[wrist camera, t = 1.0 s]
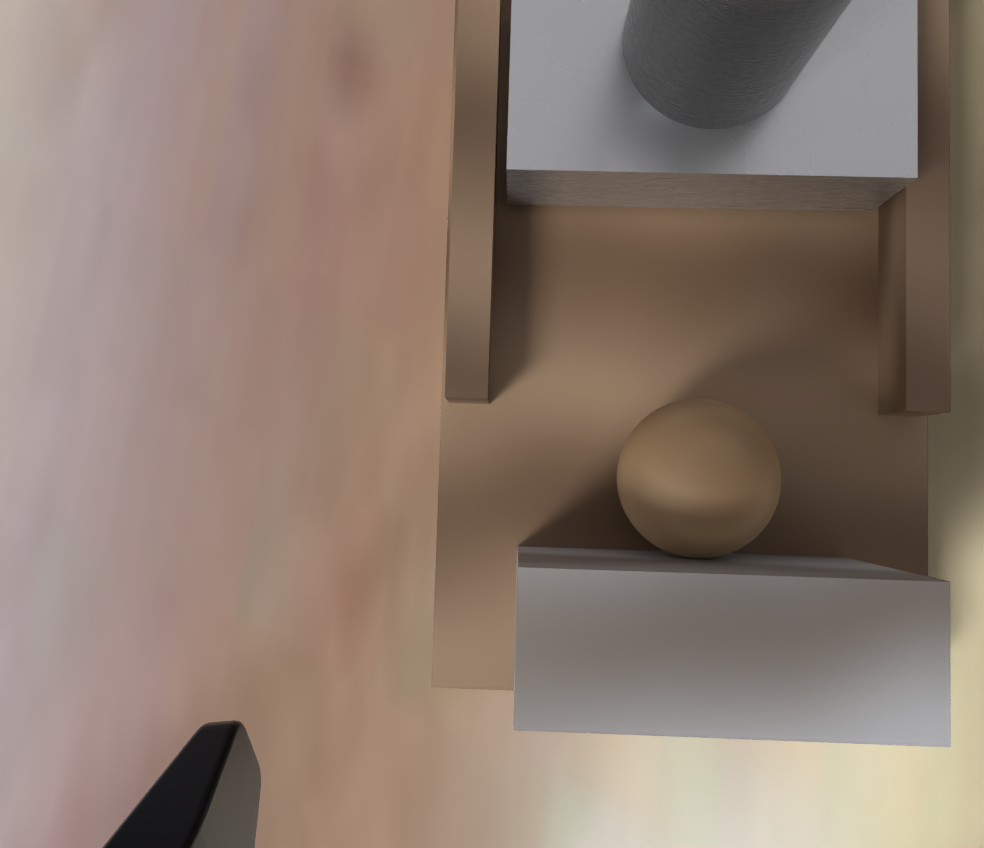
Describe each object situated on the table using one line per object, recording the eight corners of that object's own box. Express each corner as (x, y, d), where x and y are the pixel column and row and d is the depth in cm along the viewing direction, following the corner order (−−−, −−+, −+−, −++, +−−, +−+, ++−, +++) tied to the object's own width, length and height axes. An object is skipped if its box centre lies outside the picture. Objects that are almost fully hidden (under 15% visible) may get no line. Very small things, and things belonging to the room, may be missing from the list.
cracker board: (890, 686, 22) (1062, 779, 15) (438, 669, 23) (405, 753, 16) (891, -42, 24) (1049, -260, 17) (463, -48, 24) (442, -263, 17)
